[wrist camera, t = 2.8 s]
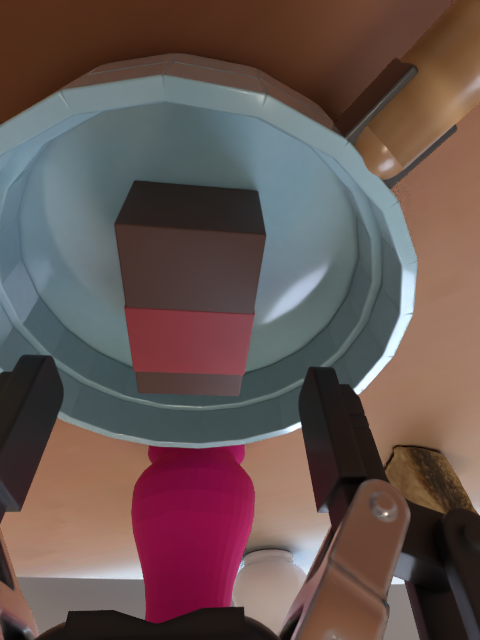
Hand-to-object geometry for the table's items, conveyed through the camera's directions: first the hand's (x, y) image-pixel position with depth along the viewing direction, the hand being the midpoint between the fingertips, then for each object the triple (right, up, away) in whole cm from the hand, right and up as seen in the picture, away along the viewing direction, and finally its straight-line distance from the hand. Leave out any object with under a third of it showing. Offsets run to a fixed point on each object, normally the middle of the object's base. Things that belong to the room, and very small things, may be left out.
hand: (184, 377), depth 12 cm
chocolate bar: (0, +4, +4) cm, 5 cm away
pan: (0, +4, +4) cm, 6 cm away
